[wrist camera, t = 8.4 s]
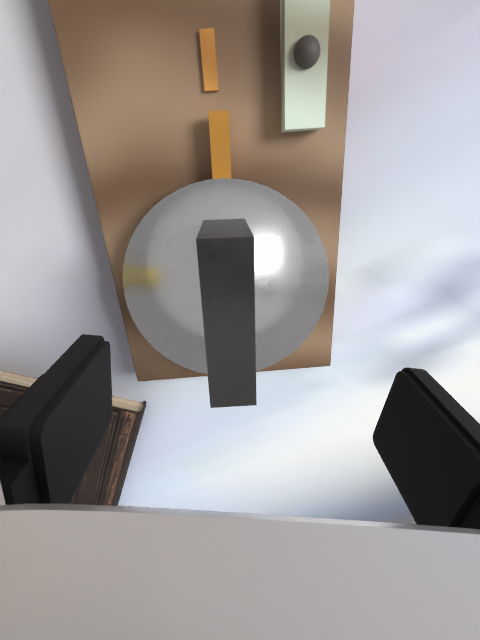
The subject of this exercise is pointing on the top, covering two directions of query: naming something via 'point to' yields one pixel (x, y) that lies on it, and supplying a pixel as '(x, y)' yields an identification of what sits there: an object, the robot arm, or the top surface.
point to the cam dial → (225, 276)
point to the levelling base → (193, 119)
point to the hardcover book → (111, 453)
